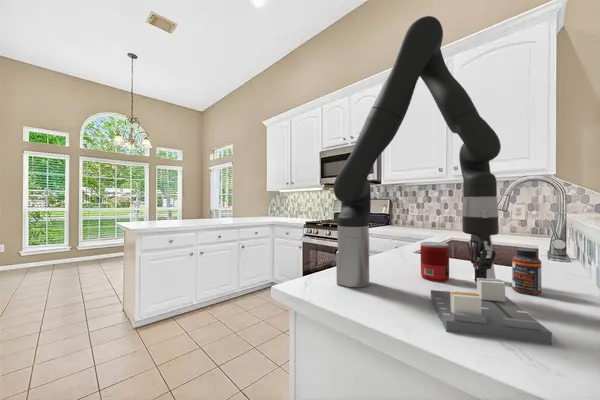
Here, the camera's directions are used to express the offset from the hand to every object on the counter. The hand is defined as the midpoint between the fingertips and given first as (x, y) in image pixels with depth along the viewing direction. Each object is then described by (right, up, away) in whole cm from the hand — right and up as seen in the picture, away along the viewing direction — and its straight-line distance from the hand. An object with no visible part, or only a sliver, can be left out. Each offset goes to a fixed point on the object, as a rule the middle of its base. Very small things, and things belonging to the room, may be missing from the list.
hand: (480, 283), depth 67 cm
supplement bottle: (+15, -4, +4) cm, 16 cm away
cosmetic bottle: (+11, -4, +15) cm, 19 cm away
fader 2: (-2, -1, -6) cm, 7 cm away
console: (-8, -4, -11) cm, 14 cm away
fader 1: (-13, -1, -15) cm, 20 cm away
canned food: (-3, -4, +17) cm, 18 cm away
